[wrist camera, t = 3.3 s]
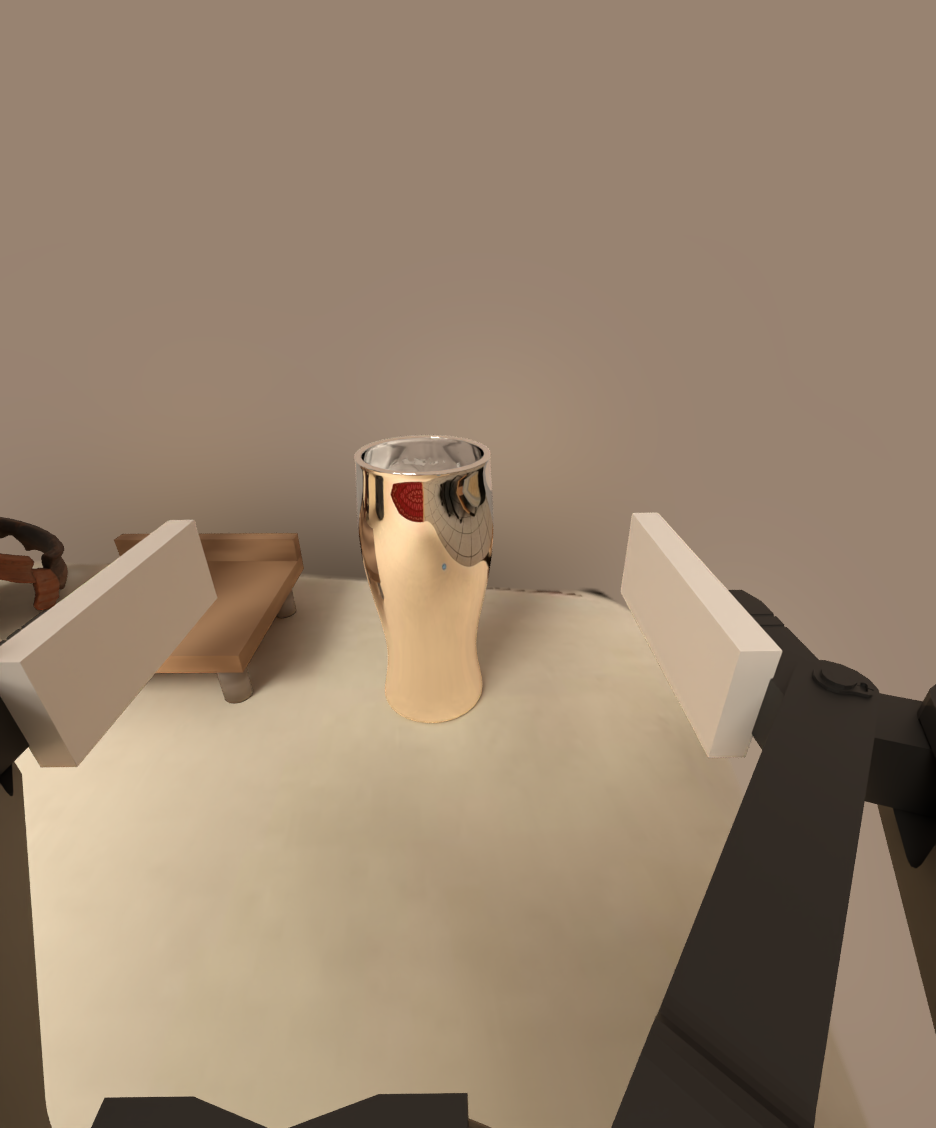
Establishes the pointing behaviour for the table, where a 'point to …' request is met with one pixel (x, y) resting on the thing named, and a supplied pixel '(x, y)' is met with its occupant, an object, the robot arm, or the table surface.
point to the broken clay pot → (21, 566)
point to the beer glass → (427, 565)
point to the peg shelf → (236, 604)
